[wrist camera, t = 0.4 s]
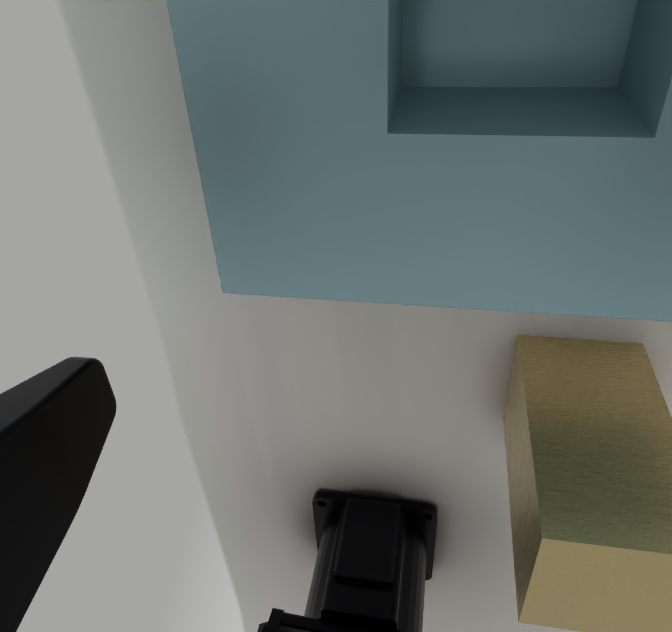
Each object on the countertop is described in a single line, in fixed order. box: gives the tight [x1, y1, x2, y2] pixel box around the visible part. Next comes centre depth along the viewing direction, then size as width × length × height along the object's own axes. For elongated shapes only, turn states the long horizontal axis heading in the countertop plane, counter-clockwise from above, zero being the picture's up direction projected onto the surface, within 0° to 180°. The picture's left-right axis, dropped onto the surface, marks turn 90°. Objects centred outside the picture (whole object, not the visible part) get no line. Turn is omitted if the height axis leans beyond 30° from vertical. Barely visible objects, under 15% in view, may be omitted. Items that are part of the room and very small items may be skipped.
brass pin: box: [503, 335, 672, 632], centre depth 20 cm, size 5×5×9 cm
